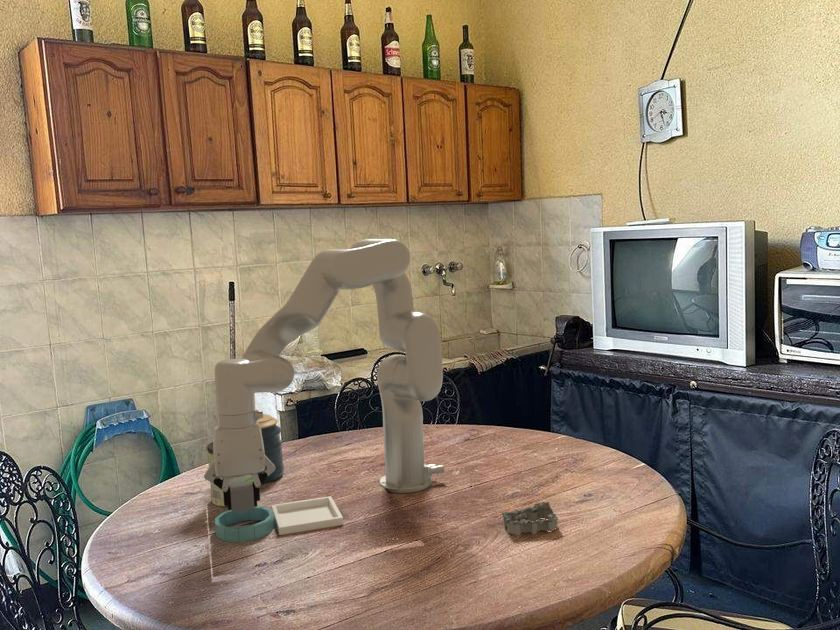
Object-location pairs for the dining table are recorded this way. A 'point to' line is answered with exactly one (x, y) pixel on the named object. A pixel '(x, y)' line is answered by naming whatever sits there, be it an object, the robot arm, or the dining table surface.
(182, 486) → the dining table surface
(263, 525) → the bowl
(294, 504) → the parts tray
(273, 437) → the canister
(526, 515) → the egg carton
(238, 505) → the slate block
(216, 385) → the robot arm
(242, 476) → the coffee can
